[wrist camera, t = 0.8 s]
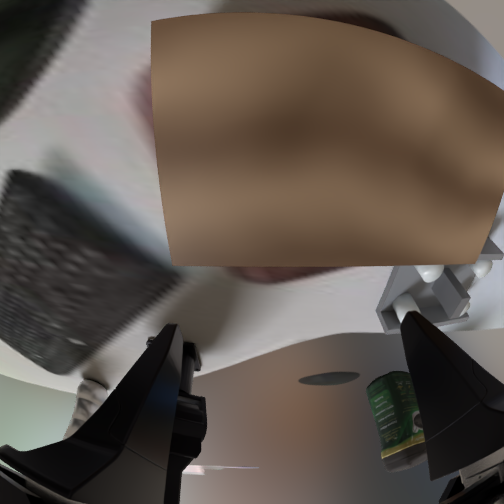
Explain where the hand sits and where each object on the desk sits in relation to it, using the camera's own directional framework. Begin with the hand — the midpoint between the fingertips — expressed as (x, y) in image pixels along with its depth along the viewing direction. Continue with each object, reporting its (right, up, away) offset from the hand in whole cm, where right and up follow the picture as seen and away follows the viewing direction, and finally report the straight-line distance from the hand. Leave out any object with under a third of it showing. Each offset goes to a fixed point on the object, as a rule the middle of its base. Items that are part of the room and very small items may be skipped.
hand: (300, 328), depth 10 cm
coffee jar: (+24, -21, +32) cm, 45 cm away
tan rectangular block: (+4, +12, +9) cm, 15 cm away
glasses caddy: (+20, 0, +17) cm, 27 cm away
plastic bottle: (-32, -23, +33) cm, 52 cm away
